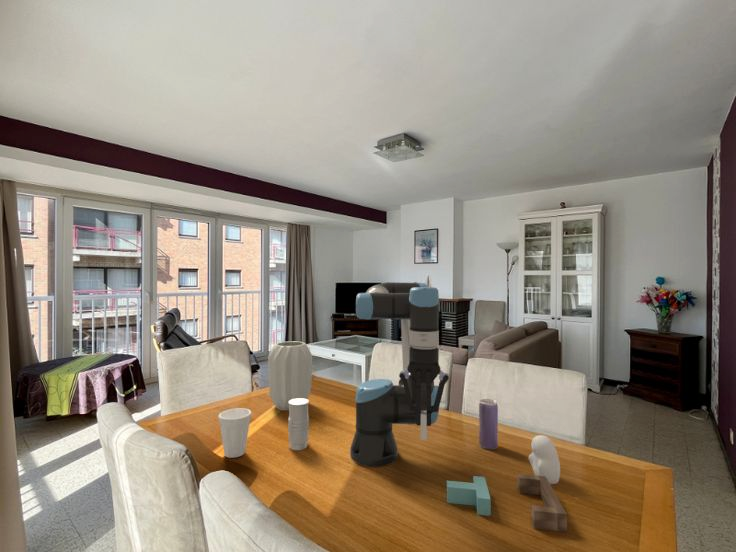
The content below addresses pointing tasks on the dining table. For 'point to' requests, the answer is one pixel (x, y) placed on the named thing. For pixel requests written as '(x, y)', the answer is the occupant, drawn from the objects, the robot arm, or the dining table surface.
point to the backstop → (553, 510)
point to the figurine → (545, 459)
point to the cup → (234, 431)
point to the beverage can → (488, 424)
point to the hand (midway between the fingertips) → (423, 437)
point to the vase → (289, 372)
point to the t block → (470, 494)
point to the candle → (298, 423)
